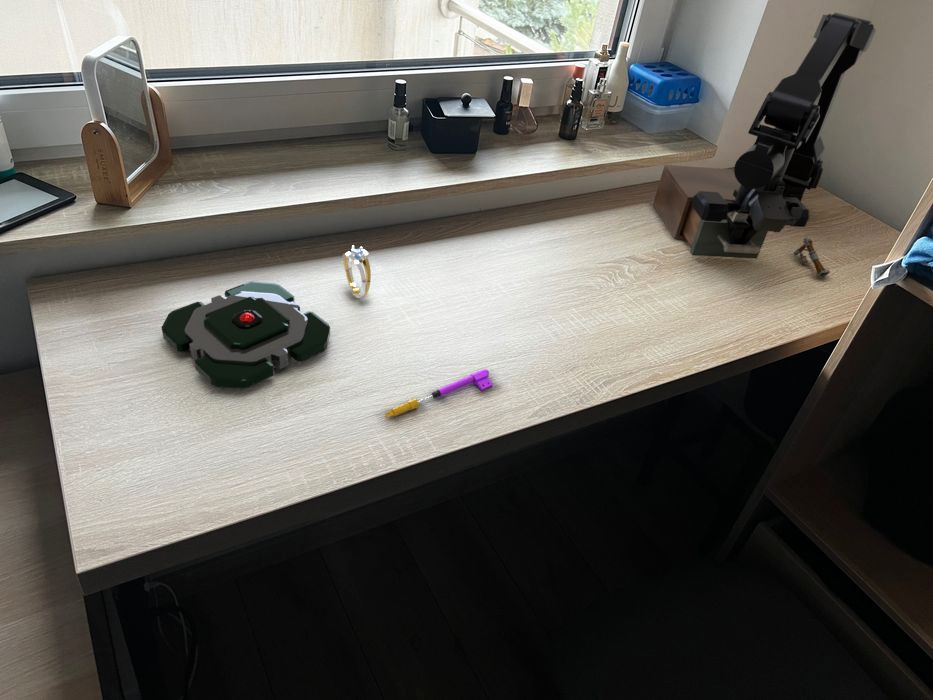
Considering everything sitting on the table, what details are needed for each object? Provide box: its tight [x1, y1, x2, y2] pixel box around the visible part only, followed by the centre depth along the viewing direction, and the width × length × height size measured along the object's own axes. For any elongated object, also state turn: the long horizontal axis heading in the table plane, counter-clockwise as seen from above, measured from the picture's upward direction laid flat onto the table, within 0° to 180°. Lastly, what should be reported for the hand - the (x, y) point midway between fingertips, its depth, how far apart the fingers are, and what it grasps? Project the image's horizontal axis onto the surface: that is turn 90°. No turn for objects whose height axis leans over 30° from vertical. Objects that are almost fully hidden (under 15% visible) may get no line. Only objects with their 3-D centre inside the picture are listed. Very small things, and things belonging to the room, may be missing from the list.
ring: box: [342, 245, 372, 299], centre depth 106 cm, size 7×3×8 cm, turn 27°
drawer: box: [681, 201, 769, 259], centre depth 130 cm, size 17×12×7 cm
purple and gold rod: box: [384, 369, 494, 419], centre depth 92 cm, size 3×1×16 cm
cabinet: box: [652, 164, 741, 241], centre depth 138 cm, size 14×14×9 cm
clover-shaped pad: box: [161, 281, 331, 390], centre depth 96 cm, size 18×18×5 cm
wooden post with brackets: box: [793, 236, 831, 279], centre depth 131 cm, size 2×8×4 cm, turn 17°
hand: (733, 252), depth 126 cm, fingers closed, pressing on drawer
